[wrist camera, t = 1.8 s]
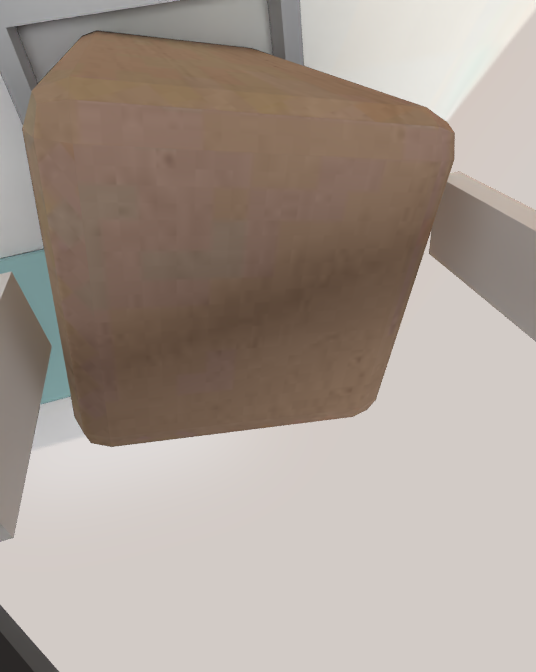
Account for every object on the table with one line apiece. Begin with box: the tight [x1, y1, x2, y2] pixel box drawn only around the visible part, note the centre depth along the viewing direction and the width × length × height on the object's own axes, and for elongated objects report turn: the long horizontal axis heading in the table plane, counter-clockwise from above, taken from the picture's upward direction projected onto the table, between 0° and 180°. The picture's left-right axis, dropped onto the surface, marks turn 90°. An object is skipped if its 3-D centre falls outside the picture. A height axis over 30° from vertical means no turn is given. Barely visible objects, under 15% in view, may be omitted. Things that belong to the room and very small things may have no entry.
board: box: [0, 249, 71, 404], centre depth 32 cm, size 12×12×1 cm
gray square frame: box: [0, 0, 304, 125], centre depth 27 cm, size 15×15×2 cm
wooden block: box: [22, 31, 455, 447], centre depth 20 cm, size 10×10×20 cm
